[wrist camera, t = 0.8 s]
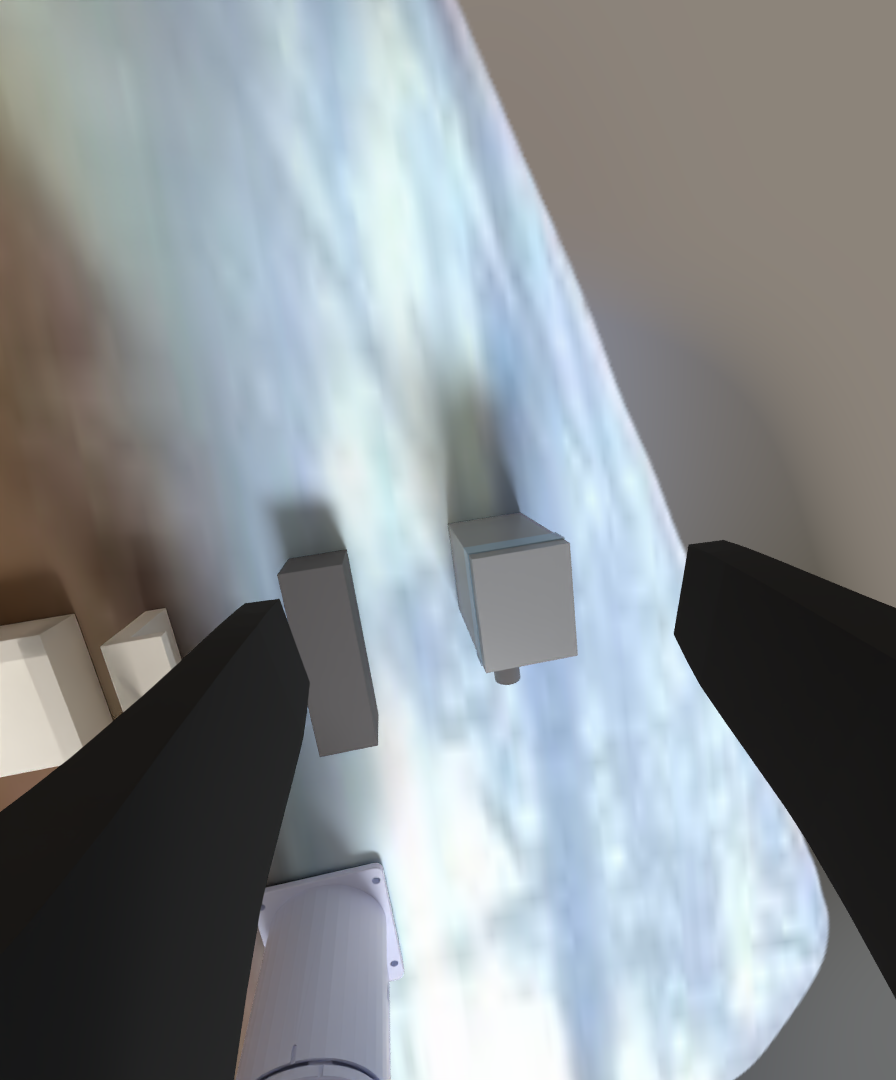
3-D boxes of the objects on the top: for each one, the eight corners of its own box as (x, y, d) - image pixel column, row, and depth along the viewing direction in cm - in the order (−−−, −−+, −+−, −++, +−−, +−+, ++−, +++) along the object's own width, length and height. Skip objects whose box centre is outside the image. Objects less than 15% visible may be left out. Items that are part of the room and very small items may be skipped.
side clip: (229, 720, 26) (203, 771, 22) (144, 736, 26) (102, 791, 22) (196, 602, 24) (160, 636, 20) (103, 618, 24) (50, 655, 20)
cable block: (378, 711, 27) (377, 745, 25) (326, 721, 27) (319, 756, 24) (347, 548, 25) (342, 564, 22) (289, 557, 25) (277, 574, 22)
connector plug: (535, 658, 28) (584, 733, 21) (467, 671, 27) (494, 752, 21) (521, 511, 25) (570, 541, 19) (446, 523, 25) (470, 558, 18)
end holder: (123, 749, 26) (96, 782, 23) (-27, 778, 25) (-71, 816, 22) (74, 613, 24) (39, 634, 21) (-90, 640, 23) (-146, 666, 20)
